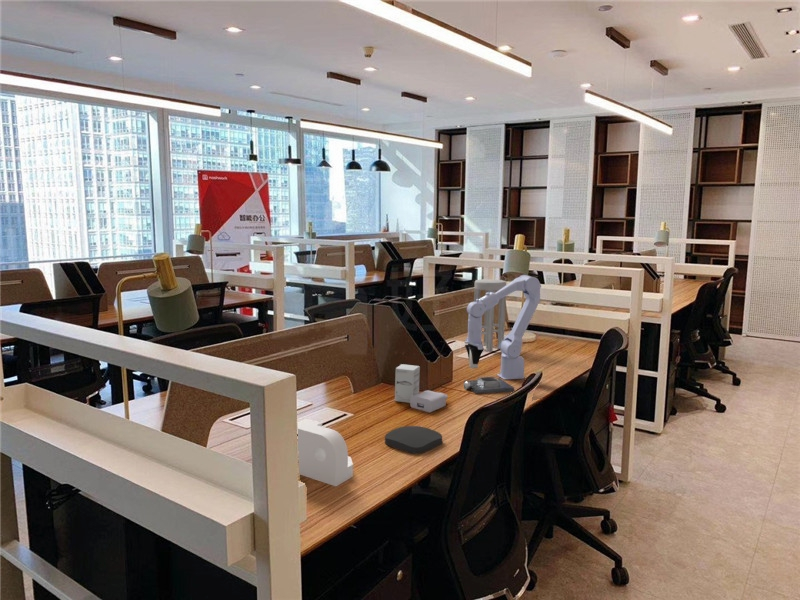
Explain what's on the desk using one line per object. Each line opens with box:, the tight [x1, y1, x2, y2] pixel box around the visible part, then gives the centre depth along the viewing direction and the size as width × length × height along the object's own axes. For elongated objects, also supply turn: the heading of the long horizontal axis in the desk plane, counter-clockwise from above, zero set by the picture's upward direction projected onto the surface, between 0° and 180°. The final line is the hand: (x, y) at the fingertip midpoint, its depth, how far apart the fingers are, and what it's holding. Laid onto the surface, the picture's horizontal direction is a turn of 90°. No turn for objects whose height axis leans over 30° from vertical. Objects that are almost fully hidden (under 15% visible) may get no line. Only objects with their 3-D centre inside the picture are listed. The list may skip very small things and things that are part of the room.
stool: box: [473, 278, 507, 352], centre depth 306 cm, size 16×16×35 cm
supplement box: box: [394, 363, 421, 404], centre depth 221 cm, size 7×7×13 cm
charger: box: [409, 389, 449, 413], centre depth 216 cm, size 5×9×15 cm
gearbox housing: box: [463, 376, 515, 395], centre depth 238 cm, size 18×13×4 cm
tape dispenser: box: [298, 418, 354, 487], centre depth 159 cm, size 16×10×13 cm, turn 57°
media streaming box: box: [384, 425, 443, 455], centre depth 181 cm, size 15×15×3 cm
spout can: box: [468, 347, 479, 369], centre depth 250 cm, size 4×4×9 cm
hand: (473, 362), depth 251 cm, fingers closed on spout can, 4 cm apart
